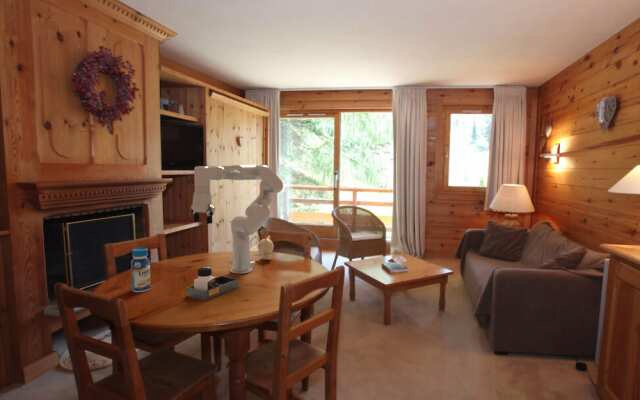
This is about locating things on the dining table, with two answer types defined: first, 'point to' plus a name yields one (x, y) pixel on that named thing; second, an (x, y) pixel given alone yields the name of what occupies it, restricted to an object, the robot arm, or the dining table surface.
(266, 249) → the kitten
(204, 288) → the medicine bottle
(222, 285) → the rack
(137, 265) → the beverage bottle
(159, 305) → the dining table surface
